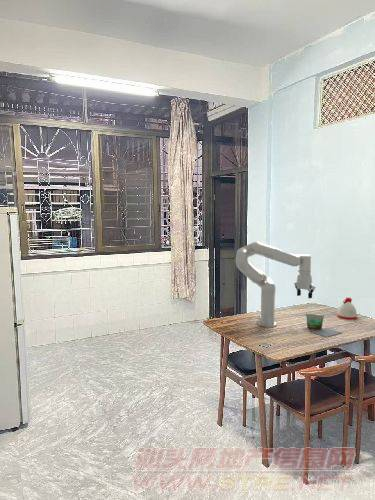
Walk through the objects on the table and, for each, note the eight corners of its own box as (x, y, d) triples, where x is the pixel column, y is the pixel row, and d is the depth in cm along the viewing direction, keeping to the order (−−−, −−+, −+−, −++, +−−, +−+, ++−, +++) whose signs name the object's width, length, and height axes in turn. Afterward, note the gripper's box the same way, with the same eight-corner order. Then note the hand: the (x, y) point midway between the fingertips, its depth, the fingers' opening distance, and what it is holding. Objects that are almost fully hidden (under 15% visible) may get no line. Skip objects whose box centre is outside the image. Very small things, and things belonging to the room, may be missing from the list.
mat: (310, 332, 242) (310, 331, 242) (326, 328, 251) (326, 327, 251) (326, 337, 232) (326, 336, 232) (341, 332, 241) (341, 332, 241)
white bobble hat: (361, 318, 274) (361, 298, 273) (347, 320, 269) (347, 300, 267) (346, 313, 287) (347, 294, 285) (332, 315, 282) (333, 296, 280)
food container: (304, 329, 248) (304, 314, 247) (305, 326, 254) (305, 312, 253) (323, 331, 244) (324, 316, 243) (323, 328, 250) (324, 314, 249)
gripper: (291, 271, 258) (291, 295, 259) (311, 274, 243) (311, 300, 245) (298, 270, 262) (298, 294, 263) (318, 273, 247) (318, 298, 249)
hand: (304, 296), depth 254 cm, fingers open, 9 cm apart
